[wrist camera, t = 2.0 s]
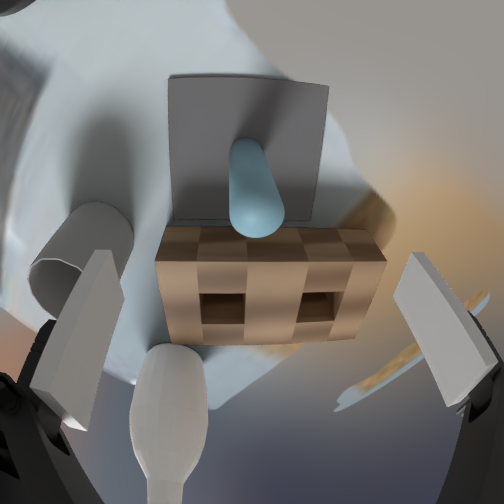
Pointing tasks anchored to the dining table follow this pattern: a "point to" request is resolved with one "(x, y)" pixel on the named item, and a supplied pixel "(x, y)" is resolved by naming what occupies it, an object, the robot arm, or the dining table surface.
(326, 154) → the dining table surface
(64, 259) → the cup
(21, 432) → the robot arm
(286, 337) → the block
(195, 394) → the bottle
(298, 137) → the mat
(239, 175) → the peg
